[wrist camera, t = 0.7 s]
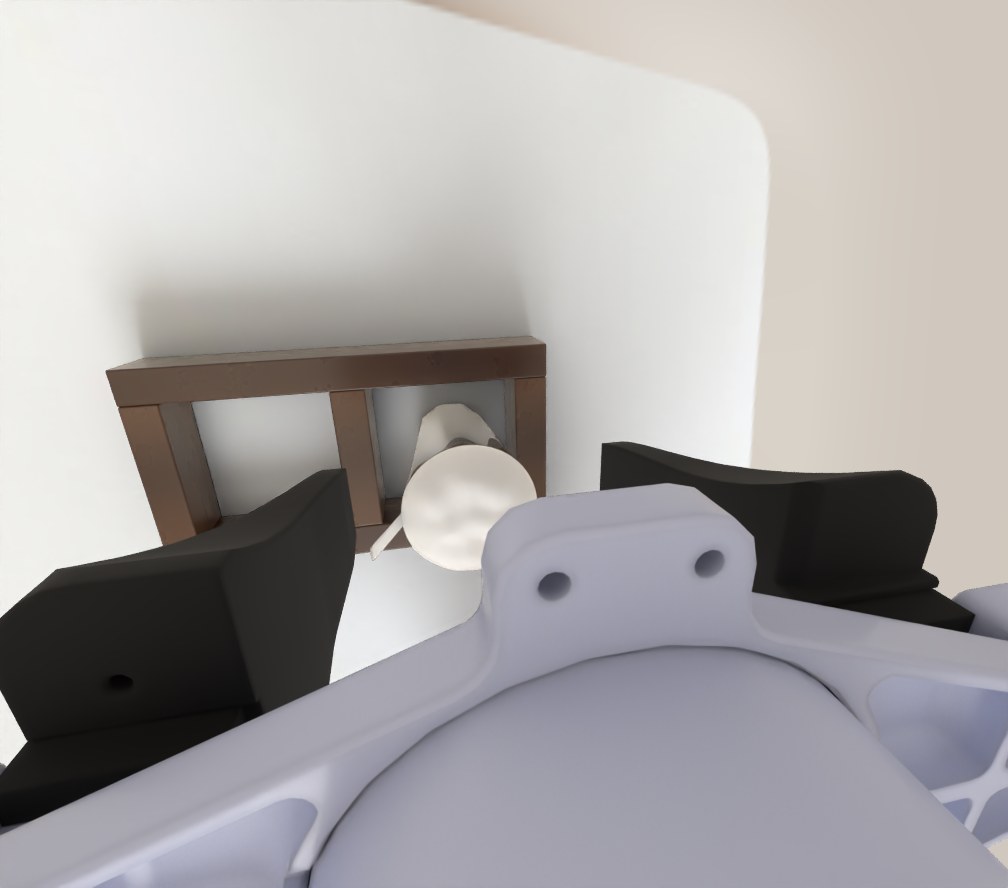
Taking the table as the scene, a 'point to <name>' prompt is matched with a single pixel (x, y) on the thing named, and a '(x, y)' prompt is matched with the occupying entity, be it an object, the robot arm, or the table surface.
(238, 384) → the rack
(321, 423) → the table surface
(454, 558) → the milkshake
